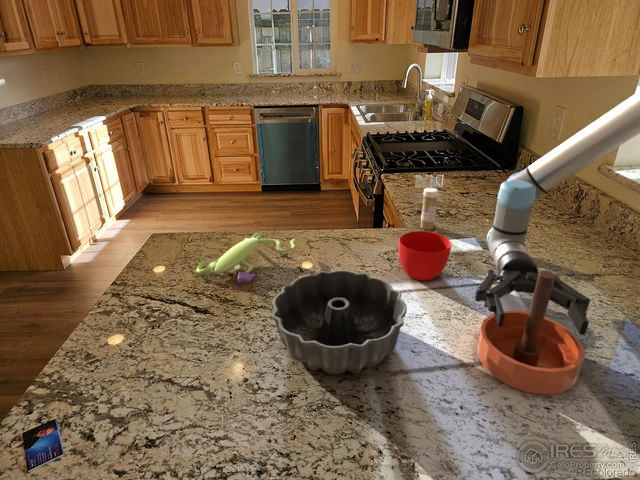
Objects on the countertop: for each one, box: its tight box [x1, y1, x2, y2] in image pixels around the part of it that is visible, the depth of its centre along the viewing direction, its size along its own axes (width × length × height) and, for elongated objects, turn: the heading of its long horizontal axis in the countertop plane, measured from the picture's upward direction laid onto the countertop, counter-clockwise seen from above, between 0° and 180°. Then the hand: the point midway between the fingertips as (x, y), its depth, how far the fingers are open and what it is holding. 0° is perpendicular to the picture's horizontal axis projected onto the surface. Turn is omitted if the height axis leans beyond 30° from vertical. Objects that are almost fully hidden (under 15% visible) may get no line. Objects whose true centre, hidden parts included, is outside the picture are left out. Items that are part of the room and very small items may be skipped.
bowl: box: [476, 310, 586, 395], centre depth 81 cm, size 18×18×6 cm
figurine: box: [195, 232, 297, 284], centre depth 117 cm, size 18×27×6 cm
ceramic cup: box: [398, 230, 452, 282], centre depth 112 cm, size 13×17×10 cm
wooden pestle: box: [513, 270, 557, 367], centre depth 78 cm, size 4×4×19 cm
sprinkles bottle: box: [419, 187, 439, 231], centre depth 136 cm, size 5×5×13 cm
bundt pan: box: [271, 269, 408, 375], centre depth 86 cm, size 26×26×10 cm
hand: (542, 324), depth 74 cm, fingers open, 13 cm apart
